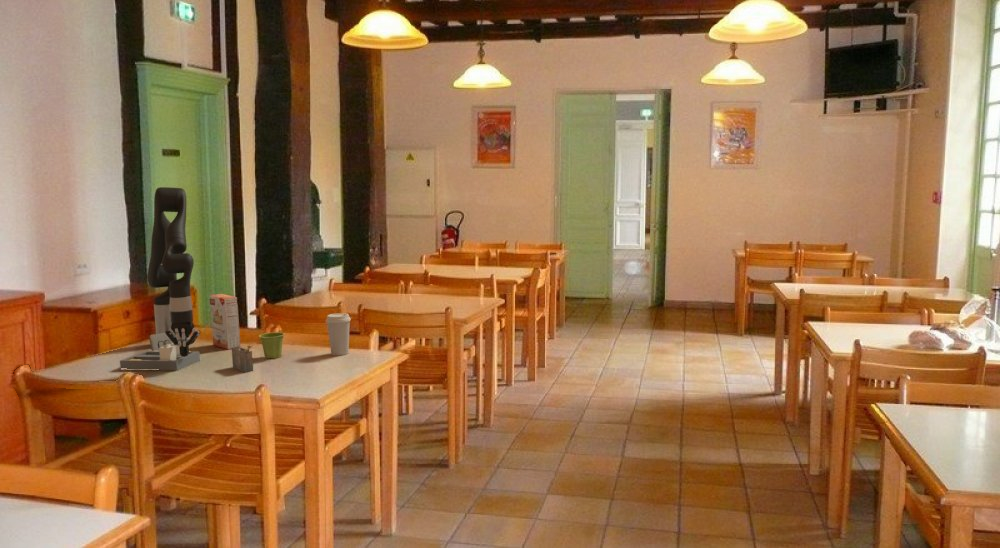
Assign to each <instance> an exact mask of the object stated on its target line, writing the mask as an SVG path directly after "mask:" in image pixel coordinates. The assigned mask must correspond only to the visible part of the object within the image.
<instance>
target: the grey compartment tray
mask: <svg viewBox="0 0 1000 548" xmlns="http://www.w3.org/2000/svg"><path fill="white" fill-rule="evenodd" d="M176 359H177V360H160V352H159V351H152V350H144V351H141V352H139V353H136V354H134V355H131V356H128V357H126V358H124V359H120V360H119V366H120V367H119V369H121V368H127V369H159V370H178V371H180V370H182V369H185V368H186V366H187V367H189V366H191V365H193V363H194V364H195V363H198V362H200V361H201V357H200V351H199V350H198V351H197V350H196V351H191V350H189V354H188V356H186V357H182V356H181V355H176ZM188 365H189V366H188ZM184 367H185V368H184ZM181 368H182V369H181ZM179 369H180V370H179Z"/></svg>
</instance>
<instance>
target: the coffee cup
mask: <svg viewBox="0 0 1000 548" xmlns="http://www.w3.org/2000/svg"><path fill="white" fill-rule="evenodd" d="M351 320H352V318H351V317H350V315H349V314H348V313H346V312H345V313H343V312H341V313H331V314H328V315H326V319H325V323H326V324H327V325H326V326H327V333H328V340H329V347H330V355H331V356H338V357H339V356H346V355H348V354H349V349H350V348H349V347H350V346H349V345H350V324H351V323H350V322H351Z"/></svg>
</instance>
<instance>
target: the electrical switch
mask: <svg viewBox="0 0 1000 548" xmlns="http://www.w3.org/2000/svg"><path fill="white" fill-rule="evenodd" d="M174 334H175V333H174ZM149 343H150V344H149V345H150V348H151V351H159V348H161V347H163V346H164V345H167V344H171V343H173V342H172V341H171V340H170V339H169V337H168V336H167V335H166V334H165V333H160V334H156V333H155V334H150V335H149Z"/></svg>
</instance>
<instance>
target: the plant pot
mask: <svg viewBox="0 0 1000 548" xmlns="http://www.w3.org/2000/svg"><path fill="white" fill-rule="evenodd" d="M284 336H285V332H276V331H275V332H267V333H261V334H259V335H258V337H259V339H260V342H261V346H262V349H263V350H262V351H263V355H264V358H265V359H274V360H275V359H279V358H280V357H282V356H283V355H282V353H283V341H284Z"/></svg>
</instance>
